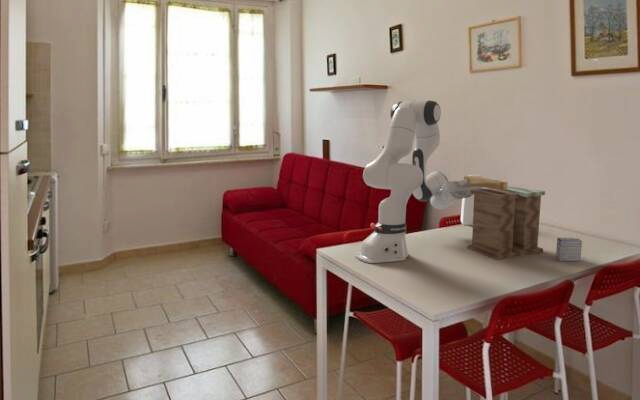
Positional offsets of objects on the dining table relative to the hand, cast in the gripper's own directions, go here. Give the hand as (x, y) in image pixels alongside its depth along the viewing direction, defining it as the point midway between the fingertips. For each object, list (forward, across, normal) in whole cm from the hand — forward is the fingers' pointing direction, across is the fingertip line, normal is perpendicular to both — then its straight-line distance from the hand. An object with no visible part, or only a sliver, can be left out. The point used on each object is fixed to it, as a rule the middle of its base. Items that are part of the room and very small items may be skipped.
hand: (473, 179), depth 208 cm
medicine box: (+15, +20, +43) cm, 50 cm away
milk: (-44, +30, +9) cm, 54 cm away
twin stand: (-4, +7, +32) cm, 33 cm away
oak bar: (+5, 0, +5) cm, 7 cm away
